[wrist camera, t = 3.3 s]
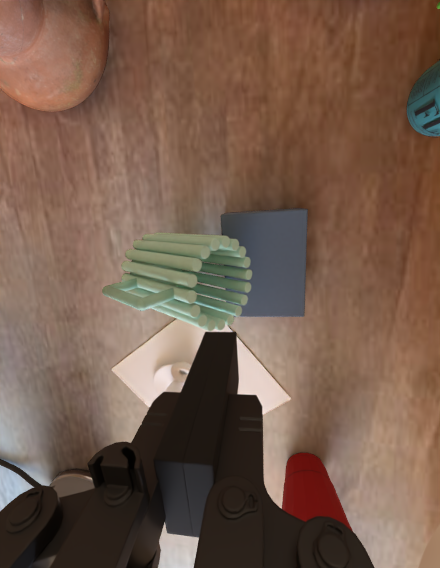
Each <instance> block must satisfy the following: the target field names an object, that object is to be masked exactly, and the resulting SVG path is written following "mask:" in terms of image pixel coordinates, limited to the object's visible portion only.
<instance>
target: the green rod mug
mask: <svg viewBox="0 0 440 568" xmlns="http://www.w3.org/2000/svg"><path fill="white" fill-rule="evenodd" d="M133 247H134V249H136V250H132V249H129V250H127V251H126V253H125V255H126V257H127V258H128V259H131V260H132V262H129V261H124V262H123V263H122V265H121V267H122V269H123V270H124V271H127V272H130V274H128V273H125V274H123V276H122V282H119V283H115V284H112V285H108V286H105V287H104V288H103V290H102V292H103V294H104V295H105V296H107V297H110V298H112V299H114V300H117V301H119V302H121V303H124V304H126V305H128V306H131V307H133V308H136V309H138V310H140V311H144V310H147V309H149V308H151V309H154V310H156V311H159V312H162V313H164V314H167V315H169V316H172V317H174V318H177V319H179V320H182V321H184V322H187V323H189V324H192V325H195V326H197V327H200V328H202V329H205V330H207V331H213V330H214V329H217V330H219V331H220V330H222V329H223V328H224V327H225V324H227V325H231V324H232V323H233V322H234V316H237V317H238V316H240V315H241V313H242V308H241V306H238V305H234V304H231V303H227V302H223V301H220V300H216V299H212V298H209V297H205V296H201V295H198V294H196V293H199V294H203V295H206V296H210V297H214V298H218V299H221V300H225V301H229V302H233V303H236V304H240V305H246V303H247V301H248V297H247V296H246V295H244V294H239V293H235V292H231V291H226V290H222V289H218V288H213V287H209V286H205V285H201V284H197V282H201V283H206V284H210V285H214V286H219V287H223V288H228V289H232V290H237V291H241V292H246V293H248V292H250V290H251V284H250V283H249V282H244V281H239V280H234V279H229V278H223V277H218V276H213V275H208V274H202V273H197V272H198V271H202V272H207V273H213V274H218V275H224V276H229V277H235V278H240V279H246V280H250V279H251V277H252V271H251V270H250V269H244V268H248V267H249V266H250V263H251V261H250V258H249V257H244V256H245V254H246V249H245V247H243V246H239V241H238V240H237V239H229V237H228V236H220V235H199V234H177V233H154V234H145V235H144V236H143V238H142V240H135V241H134V242H133ZM201 261H203V262H201ZM204 262H210V263H204ZM211 263H217V264H223V265H217V264H211ZM224 265H230V266H224ZM231 266H237V267H244V268H237V267H231ZM182 269H184V270H182ZM187 270H189V271H187ZM192 271H194V272H192ZM125 291H126V292H125ZM233 315H234V316H233Z"/></svg>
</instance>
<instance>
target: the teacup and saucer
mask: <svg viewBox="0 0 440 568" xmlns="http://www.w3.org/2000/svg"><path fill="white" fill-rule="evenodd" d="M191 366H192V364H191V363H189V362H187V361H183V360H180V361H176V362H175V363H167V364H164V365H162V366H160V367H159V368H158V369H157V370H156V371H155V372H154V374H153V376H152V388H153V390H154V392H155V394H156V395H157V396H159V395H160V394H162V393H163V392H181V390H182V388H183V385H184V383H185V380H186V378H187V375H188V373H189V370H190V368H191Z"/></svg>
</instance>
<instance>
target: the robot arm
mask: <svg viewBox="0 0 440 568" xmlns="http://www.w3.org/2000/svg"><path fill="white" fill-rule="evenodd" d="M238 384H239V372H238V354H237V335H236V332H205V334H204V336H203V339H202V341H201V344H200V346H199V348H198V351H197V353H196V356H195V358H194V361H193V363H192V366H191V368H190V370H189V373H188V375H187V378H186V380H185V383H184V385H183V388H182V390H181V392H163V393H162V394H160V395H159V396H158V397H157V398H156V399H155V400H154V401H153V403H152V405H151V406H150V408H149V410H148V412H147V415H146V416H145V418H144V420H143V422H142V425H140V427H139V429H138V431H137V433H136V435H135V437H134V439H133V441H132V443H129V442H118V443H114V444H112V445H109V446H107V447H105V448H103V449H102V450H101V451H99V452H98V453H96V454H95V455H94V457H93V458H92V459H91V460H90V461H89V462H88V467H89V470H90V472H89V471H85V470H78V469H72V470H66V471H63V472H61V473H60V474H58V475H57V476H56V477H55V479H54V480H53V481H52V483H51V484H50V486H42V485H41V484H39V483H38V482H36V481H35V480H34V479H33V478H31V477H30V476H29V475H28V474H27V473H25V472H24V471H23V470H21V469H20V468H18V467H16V466H14V465H12V464H10V463H8V462H6V461H4V460H1V459H0V465H1V466H4V467H6V468H8V469H10V470H12V471H14V472H15V473H17V474H18V475H20V476H21V477H22V478H23V479H25V480H26V481H27V482H28V483H29V484H31V485H32V486H33V487H35V488H32V489H30V490H28V491H26V492H24V493H22V494H20V495H19V496H18V497H16V498H15V499H14V500H13V501H11V502H10V503H9V504H8V505H7V506H6V507H5V508H4V509H3V510H2V511H0V568H158V564H159V559H160V551H161V549H160V545H159V539H160V536H161V532H162V529H163V525H164V522H165V524H166V529H167V533H169V534H177V535H184V536H192V537H199V542H198V547H197V553H196V558H195V564H194V568H374V566H373V564H372V562H371V560H370V558H369V556H368V554H367V552H366V550H365V548H364V546H363V545H362V543H361V542H360V540H359V539H358V537H357V536H356V534H355V533H354V532H352V531H351V530H350V529H349V528H348V527H347V526H346V525H345V524H344V523H342V522H340V521H338V520H336V519H334V518H331V517H327V516H316V517H313V518H311V519H309V520H307V521H306V522H305V521H303V520H301V519H299V518H297V517H295V516H293V515H291V514H289V513H287V512H286V511H284V510H282V509H281V508H279V507H278V506H277V505H276V504H275V503H274V502H273V501H272V499H271V498H270V496H269V494H268V493H267V490H266V488H265V485H264V474H263V415H262V405H261V403H260V401H259V399H258V397H257V395H246V394H237V393H238Z"/></svg>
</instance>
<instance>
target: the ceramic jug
mask: <svg viewBox="0 0 440 568" xmlns="http://www.w3.org/2000/svg"><path fill="white" fill-rule="evenodd" d="M108 48H109V10H108V8H107V5H106V4H105V2H104V0H0V89H2V90H3V91H4V92H5V93H6V94H7V95H9V96H10V97H11V98H13V99H14V100H16V101H17V102H19V103H21V104H23V105H25V106H27V107H30V108H33V109H36V110H41V111H48V112H57V111H63V110H67V109H70V108H73V107H75V106H77V105H78V104H80V103H81V102H83V101H84V100H85V99H86V98H87V97H89V96H90V94H91V93H92V92H93V91H94V89H95V88H96V86H97V85H98V83H99V81H100V79H101V77H102V75H103V72H104V69H105V66H106V61H107V56H108Z"/></svg>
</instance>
